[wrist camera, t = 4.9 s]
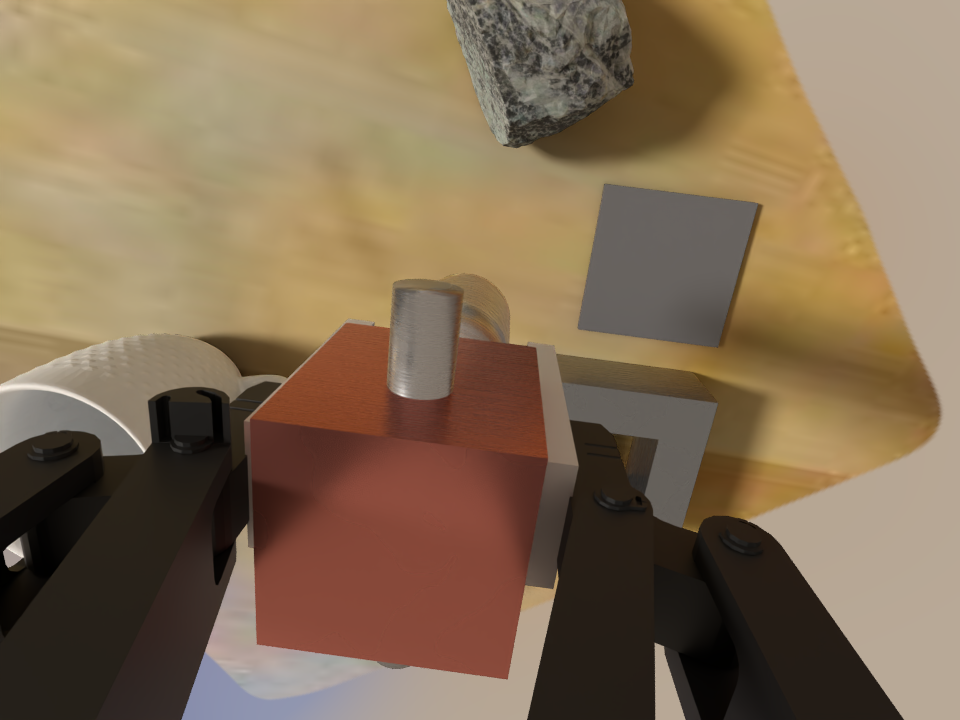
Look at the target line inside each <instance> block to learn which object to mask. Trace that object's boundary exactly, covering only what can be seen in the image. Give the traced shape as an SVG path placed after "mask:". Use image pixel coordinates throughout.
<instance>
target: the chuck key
mask: <svg viewBox="0 0 960 720" xmlns="http://www.w3.org/2000/svg"><path fill="white" fill-rule="evenodd" d="M509 337H510V312H509V307H508V304H507V301H506V299H505V297H504V296H503V294H502V293H501V291H500V290H499V289H498V288H497V287H496V286H495V285H494V284H493V283H491V282H490V281H488V280H487V279H485V278H483V277H480V276H477V275H473V274H465V273H462V274H454V275H450V276H447V277H445V278H443V279H441V280H439V281H436V280H427V279H405V280H399V281H396V282H394V283H393V291H392V307H391V322H390V328H385V327H377V326H369V325H362V324H354V323H346V324H345V325H344V326H343V327H342V328H341V329H340V330H339V331H338V332H337V333H336V334H335V335H334V336H333V337H332V338H331V339H330V340H329V341H328V342H327V343H326V344H325V345H324V346H323V347H322V348H321V349H320V350H319V351H318V352H317V353H316V354H315V355H314V356H313V357H312V358H311V359H310V360H308V361H307V362H306V363H305V364H304V365H303V366H302V367H301V368H300V369H299V370H298V371H297V372H296V373H295V374H294V375H293V376H292V377H291V378H290V379H289V380H288V381H287V382H286V383H285V384H284V385H283V386H282V387H281V388H280V389H279V390H278V391H277V392H276V393H275V394H274V395H273V396H272V397H271V398H270V399H269V400H268V401H267V402H266V403H265V404H264V405H263V406H262V407H261V408H260V409H259V410H258V411H257V412H256V413H255V414H254V415H253V416H252V417H251V418H250V437H251V470H252V502H253V535H254V567H255V600H256V632H257V644H258V645H265V646H272V647H280V648H287V649H294V650H301V651H308V652H315V653H322V654H330V655H337V656H344V657H351V658H358V659H365V660H372V661H377V662H378V663H379V664H381V665H383V666H385V667H388V668H392V669H401V668H405V667H409V666H415V667H422V668H430V669H437V670H444V671H451V672H458V673H466V674H472V675H480V676H487V677H494V678H501V679H508V674H509V668H510V664H511V658H512V653H513V647H514V642H515V636H516V631H517V625H518V620H519V615H520V609H521V604H522V598H523V593H524V587H525V582H526V577H527V571H528V566H529V560H530V555H531V549H532V544H533V539H534V533H535V528H536V522H537V517H538V511H539V506H540V500H541V495H542V490H543V484H544V479H545V473H546V468H547V462H548V452H547V443H546V434H545V424H544V415H543V406H542V397H541V387H540V378H539V369H538V360H537V350H536V347H530V346H522V345H515V344H509Z"/></svg>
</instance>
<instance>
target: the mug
mask: <svg viewBox="0 0 960 720" xmlns="http://www.w3.org/2000/svg"><path fill="white" fill-rule="evenodd" d="M286 379H287V378H286V377H283V376H279V375H256V376H246V377H242V376H241V374H240V372H239V370H238V368H237V367H236V365H235V364H234V363H233V362H232V360H231V359H230V358H229V357H228V356H227V355H225V354H224V353H223V352H222V351H220V350H219V349H217V348H216V347H214V346H212V345H210V344H208V343H206V342H204V341H201V340H198V339H195V338H191V337H189V336H182V335H179V334H175V335H170V334H166V333H165V334H154V333H153V334H149V335H137V336H133V337H122V338H120V339H117V340H108V341H106V342H104V343H102V344H98V345H91V346H90V347H88V348H86V349H83V350H78V351H75V352H73V353H71V354H69V355H67V356H64V357H60V358H57V359H55V360H53V361H51V362H50V363H47V364H45V365H42V366H38V367H36V368H34V369H33V370H31V371H29V372H27V373H24V374H21V375H18V376H17V377H15V378H14V379H11V380H9V381H7V382H5V383H2V384H0V453H1V452H3V451H5V450H7V449H9V448H10V447H12V446H14V445H16V444H18V443H20V442H22V441H25V440H27V439H29V438H31V437H35V436H39V435H43V434H45V433H47V432H52V431H57V432H59V431H60V430H70V431H84V432H87V433H91V434H94V435H96V436H97V437H98V438H99V439H100V440H101V446H102V453H103V456H117V455H138V454H144V452H145V451H146V450H147V448H148V447H149V446H150V445H151V443H152V439H151V429H150V419H149V409H148V400H149V399H151V398H152V397H154V396H155V395H157V394H160V393H162V392H165V391H168V390H172V389H178V388H184V387H206V388H214V389H217V390H220V391H223V392H225V393H226V394H227V395H228V396H229V397H230V403H231V402H232V401H233V400H236V398H237V397H238V396H239V395H240V394H241V393H243V392H244V391H245V390H246V389H247V388H250V387H252V386H255V385H257V384H260V383H262V382H264V381H269V382H276V383H283V382H284V381H285V380H286ZM7 549H8V550H10V551H12V552H13V553H15V554H17V555H19V556H20V557H22V558H24V556H23V551H22V546H21V542H20V538H18V539H17V540H16V541H14V542H13V543H12V544H10V545H9V546H8V547H7Z"/></svg>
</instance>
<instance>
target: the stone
mask: <svg viewBox="0 0 960 720" xmlns="http://www.w3.org/2000/svg"><path fill="white" fill-rule="evenodd" d="M447 9H448V11H449V13H450V15H451V17H452V20H453V23H454V25H455V28H456V35H457V38H458V41H459V43H460V46H461V49H462V52H463V55H464V57H465V59H466V62H467V65H468V69H469V72H470V75H471V78H472V82H473V86H474V89H475V92H476V95H477V97H478V100H479V102H480V106H481V108H482V111H483V113H484V115H485V118H486V120H487V122H488V124H489V127H490V129H491V131H492V133H493V134H494V135H495V137H496V139H497V140H498V141H499V142H500V143H501V144H502V145H503V146H507V147H513V148H519V147H521V146H525V145H529V144H531V143H533V142H534V141H535V140H537V139H539V138H540V137H547V136H550V135H553V134H556V133H559V132H561V131H562V130H564V129H565V128H567V127H569V126H571V125H573V124H574V123H576V122H578V121H579V120H581V119H583V118H585V117H587V116H588V115H589V114H590V113H592V112H594V111H596V110H597V109H598V108H599V107H601V106H602V105H603V104H605V103H606V102H607V101H609V100H610V99H612V98H614V97H616V96H617V95H618V94H619V93H620V92H621V91H622V90H626V89H628V88H629V87H631V86H632V85H633V83H634V79H633V76H632V75H633V73H634V69H633V66H632V62H631V59H630V53H631V49H632V35H631V28H630V25H629V22H628V18H627V14H626V10H625V6H624V4H623V2H622V0H447Z"/></svg>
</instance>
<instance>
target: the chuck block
mask: <svg viewBox="0 0 960 720" xmlns="http://www.w3.org/2000/svg"><path fill="white" fill-rule="evenodd" d="M556 357H557V362H558V367H559V371H560V376H561V381H562V386H563V391H564V396H565V401H566V406H567V411H568V416H569V420H575V421H582V422H590V423H598V424H601V425H603V426H604V427H605V428H606V429H607V430H608V431H609V432H610V433H614V434H621V435H629V436H634V437H633V441H632V445H631V450H630V454H629V458H628V462H627V466H626V470H625V471H626V474H627V477H628V480H629V482H630V485H631V486H632V487H633V488H635V489H637V490H638V491H640V492H642V493H643V494H644V495H645V496H646V497H647V498H648V499H649V500H650V502H651V505H652V508H653V516H655V517H657V518H659V519H660V520H662V521H665V522H667V523H670V524H672V525H675V526H678V527H681V528H682V526H683V522H684V519H685V516H686V512H687V509H688V505H689V502H690V498H691V495H692V492H693V488H694V485H695V481H696V478H697V474H698V471H699V468H700V464H701V461H702V457H703V454H704V450H705V447H706V444H707V440H708V437H709V433H710V430H711V426H712V423H713V420H714V416H715V413H716V409H717V406H718V402H717V401H716V400H715V399H714V397H713V396H712V395H711V394H710V393H709V391H708V390H707V389H706V388H705V386H704V385H703V384H702V383H701V382H700V380H699V379H698V378H697V377H696V376H695V374H694V373H693V372H688V371H681V370H673V369H665V368H658V367H650V366H643V365H635V364H628V363H620V362H612V361H605V360H597V359H590V358H582V357H575V356H567V355H559V354H556Z"/></svg>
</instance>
